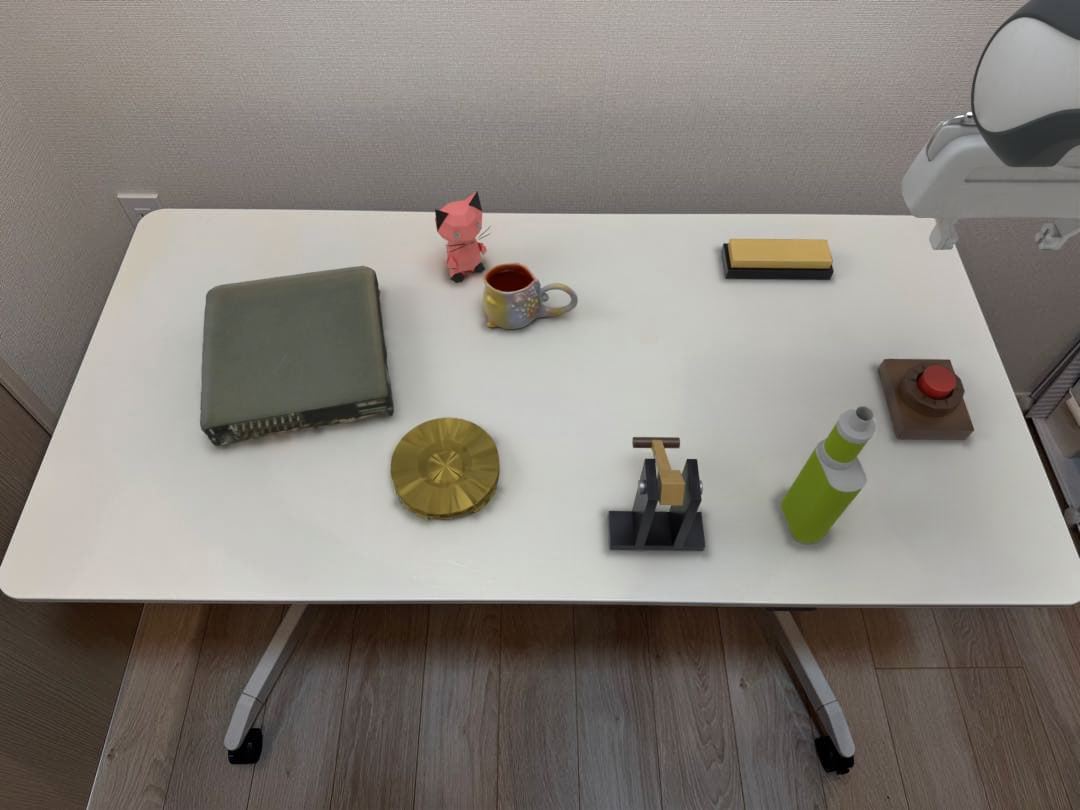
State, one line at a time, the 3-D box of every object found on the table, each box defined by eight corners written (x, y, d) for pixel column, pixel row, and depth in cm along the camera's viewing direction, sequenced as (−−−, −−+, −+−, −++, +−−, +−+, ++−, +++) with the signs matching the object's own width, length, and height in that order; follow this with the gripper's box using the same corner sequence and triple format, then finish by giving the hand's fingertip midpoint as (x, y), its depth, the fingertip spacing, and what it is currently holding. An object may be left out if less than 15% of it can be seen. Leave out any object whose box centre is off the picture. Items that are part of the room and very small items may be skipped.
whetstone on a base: (830, 279, 102) (837, 264, 100) (725, 278, 102) (730, 263, 100) (823, 252, 105) (830, 236, 102) (720, 251, 105) (725, 235, 102)
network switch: (215, 470, 86) (199, 448, 82) (196, 316, 98) (180, 290, 94) (417, 413, 91) (411, 390, 86) (374, 272, 102) (367, 246, 98)
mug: (478, 329, 97) (475, 294, 92) (489, 288, 101) (487, 253, 95) (572, 342, 96) (574, 308, 91) (579, 300, 100) (582, 265, 94)
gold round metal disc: (396, 529, 83) (393, 521, 81) (390, 434, 89) (387, 425, 87) (506, 513, 84) (506, 505, 82) (493, 421, 90) (492, 411, 88)
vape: (808, 490, 85) (874, 391, 69) (828, 540, 82) (904, 449, 65) (776, 496, 85) (835, 398, 68) (795, 546, 82) (863, 456, 65)
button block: (965, 439, 89) (982, 422, 86) (896, 439, 89) (911, 421, 86) (942, 369, 94) (957, 350, 91) (877, 369, 94) (890, 349, 91)
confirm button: (953, 399, 88) (960, 391, 86) (921, 399, 88) (928, 391, 86) (944, 374, 90) (951, 365, 88) (913, 373, 90) (920, 365, 88)
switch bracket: (608, 513, 84) (618, 457, 73) (699, 514, 84) (723, 458, 73) (609, 551, 81) (620, 499, 71) (703, 552, 81) (729, 500, 71)
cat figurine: (453, 295, 100) (444, 228, 90) (428, 262, 103) (417, 194, 93) (499, 273, 103) (496, 205, 92) (473, 241, 106) (467, 172, 95)
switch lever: (631, 450, 84) (632, 430, 83) (677, 450, 84) (679, 430, 83) (645, 505, 72) (646, 483, 72) (697, 505, 72) (700, 483, 72)
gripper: (958, 138, 54) (883, 271, 66) (1245, 138, 54) (1119, 271, 66) (933, 83, 58) (866, 219, 69) (1203, 83, 58) (1091, 219, 69)
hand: (991, 244), depth 68 cm, fingers open, 8 cm apart
